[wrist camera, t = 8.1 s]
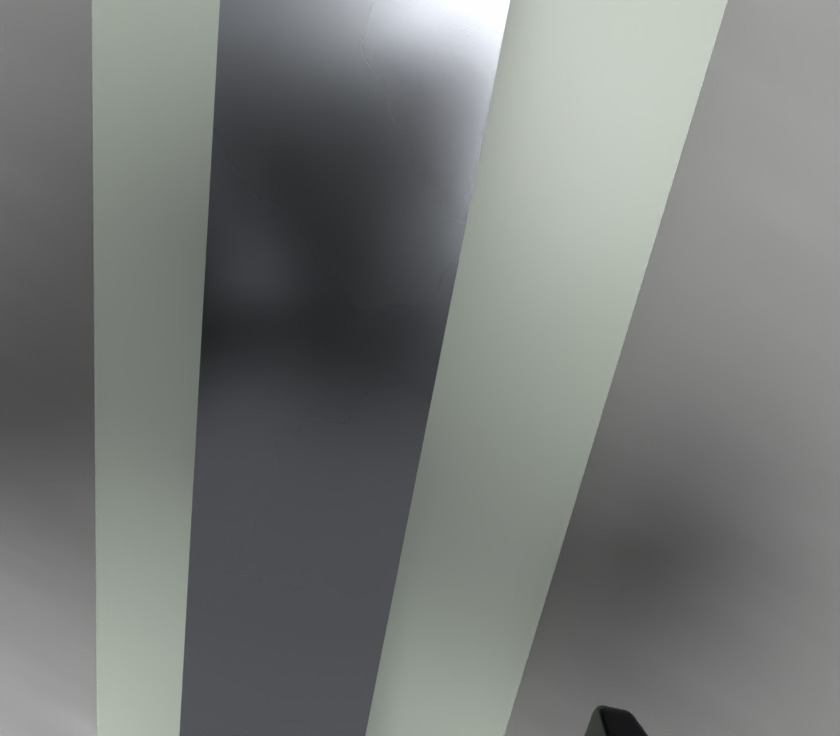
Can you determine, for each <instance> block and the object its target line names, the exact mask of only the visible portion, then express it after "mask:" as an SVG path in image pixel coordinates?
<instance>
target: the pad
mask: <svg viewBox="0 0 840 736" xmlns="http://www.w3.org/2000/svg"><path fill="white" fill-rule="evenodd" d="M727 2H728V0H511V1H510V6H509V11H508V16H507V21H506V26H505V31H504V36H503V41H502V47H501V52H500V57H499V62H498V67H497V72H496V77H495V82H494V87H493V92H492V97H491V102H490V107H489V112H488V117H487V123H486V128H485V133H484V138H483V143H482V148H481V153H480V158H479V163H478V168H477V173H476V178H475V183H474V188H473V193H472V199H471V204H470V209H469V214H468V219H467V224H466V229H465V234H464V239H463V244H462V249H461V254H460V259H459V264H458V269H457V275H456V280H455V285H454V290H453V295H452V300H451V305H450V310H449V315H448V320H447V325H446V330H445V335H444V340H443V346H442V351H441V356H440V361H439V366H438V371H437V376H436V381H435V386H434V391H433V396H432V401H431V406H430V411H429V416H428V422H427V427H426V432H425V437H424V442H423V447H422V452H421V457H420V462H419V467H418V472H417V477H416V482H415V487H414V492H413V498H412V503H411V508H410V513H409V518H408V523H407V528H406V533H405V538H404V543H403V548H402V553H401V558H400V563H399V569H398V574H397V579H396V584H395V589H394V594H393V599H392V604H391V609H390V614H389V619H388V624H387V629H386V634H385V639H384V645H383V650H382V655H381V660H380V665H379V670H378V675H377V680H376V685H375V690H374V695H373V700H372V705H371V710H370V715H369V721H368V726H367V731H366V736H504V735H505V732H506V728H507V725H508V722H509V718H510V715H511V712H512V709H513V705H514V702H515V699H516V695H517V692H518V689H519V686H520V682H521V679H522V676H523V672H524V669H525V666H526V663H527V659H528V656H529V653H530V649H531V646H532V643H533V639H534V636H535V633H536V630H537V626H538V623H539V620H540V616H541V613H542V610H543V607H544V603H545V600H546V597H547V593H548V590H549V587H550V584H551V580H552V577H553V574H554V570H555V567H556V564H557V561H558V557H559V554H560V551H561V547H562V544H563V541H564V538H565V534H566V531H567V528H568V524H569V521H570V518H571V515H572V511H573V508H574V505H575V501H576V498H577V495H578V492H579V488H580V485H581V482H582V478H583V475H584V472H585V468H586V465H587V462H588V459H589V455H590V452H591V449H592V445H593V442H594V439H595V436H596V432H597V429H598V426H599V422H600V419H601V416H602V413H603V409H604V406H605V403H606V399H607V396H608V393H609V390H610V386H611V383H612V380H613V376H614V373H615V370H616V367H617V363H618V360H619V357H620V353H621V350H622V347H623V344H624V340H625V337H626V334H627V330H628V327H629V324H630V321H631V317H632V314H633V311H634V307H635V304H636V301H637V297H638V294H639V291H640V288H641V284H642V281H643V278H644V274H645V271H646V268H647V265H648V261H649V258H650V255H651V251H652V248H653V245H654V242H655V238H656V235H657V232H658V228H659V225H660V222H661V219H662V215H663V212H664V209H665V205H666V202H667V199H668V196H669V192H670V189H671V186H672V182H673V179H674V176H675V173H676V169H677V166H678V163H679V159H680V156H681V153H682V150H683V146H684V143H685V140H686V136H687V133H688V130H689V126H690V123H691V120H692V117H693V113H694V110H695V107H696V103H697V100H698V97H699V94H700V90H701V87H702V84H703V80H704V77H705V74H706V71H707V67H708V64H709V61H710V57H711V54H712V51H713V48H714V44H715V41H716V38H717V34H718V31H719V28H720V25H721V21H722V18H723V15H724V11H725V8H726V5H727ZM219 9H220V0H92V110H93V254H94V397H95V541H96V684H97V736H179V733H180V715H181V697H182V679H183V661H184V643H185V625H186V607H187V588H188V570H189V552H190V534H191V516H192V498H193V480H194V462H195V444H196V426H197V407H198V389H199V371H200V353H201V335H202V317H203V299H204V281H205V263H206V244H207V226H208V208H209V190H210V172H211V154H212V136H213V118H214V100H215V81H216V63H217V45H218V27H219Z"/></svg>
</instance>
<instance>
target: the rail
mask: <svg viewBox="0 0 840 736" xmlns="http://www.w3.org/2000/svg"><path fill="white" fill-rule="evenodd" d="M510 1H511V0H220V9H219V27H218V45H217V63H216V81H215V100H214V118H213V136H212V154H211V172H210V190H209V208H208V226H207V244H206V263H205V281H204V299H203V317H202V335H201V353H200V371H199V389H198V407H197V426H196V444H195V462H194V480H193V498H192V516H191V534H190V552H189V570H188V588H187V607H186V625H185V643H184V661H183V679H182V697H181V715H180V733H179V736H366V731H367V726H368V721H369V715H370V710H371V705H372V700H373V695H374V690H375V685H376V680H377V675H378V670H379V665H380V660H381V655H382V650H383V645H384V639H385V634H386V629H387V624H388V619H389V614H390V609H391V604H392V599H393V594H394V589H395V584H396V579H397V574H398V569H399V563H400V558H401V553H402V548H403V543H404V538H405V533H406V528H407V523H408V518H409V513H410V508H411V503H412V498H413V492H414V487H415V482H416V477H417V472H418V467H419V462H420V457H421V452H422V447H423V442H424V437H425V432H426V427H427V422H428V416H429V411H430V406H431V401H432V396H433V391H434V386H435V381H436V376H437V371H438V366H439V361H440V356H441V351H442V346H443V340H444V335H445V330H446V325H447V320H448V315H449V310H450V305H451V300H452V295H453V290H454V285H455V280H456V275H457V269H458V264H459V259H460V254H461V249H462V244H463V239H464V234H465V229H466V224H467V219H468V214H469V209H470V204H471V199H472V193H473V188H474V183H475V178H476V173H477V168H478V163H479V158H480V153H481V148H482V143H483V138H484V133H485V128H486V123H487V117H488V112H489V107H490V102H491V97H492V92H493V87H494V82H495V77H496V72H497V67H498V62H499V57H500V52H501V47H502V41H503V36H504V31H505V26H506V21H507V16H508V11H509V6H510Z"/></svg>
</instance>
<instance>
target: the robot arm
mask: <svg viewBox="0 0 840 736" xmlns="http://www.w3.org/2000/svg"><path fill="white" fill-rule="evenodd" d="M585 736H648V735H647V734H646V732H645V731H644V730H643V728H642V727H641V725H640V724H639V723H638V721H637V720H636V718H635V717H634V716H633V715H632V714H631V713H630V712H628V711H626V710H622V709H617V708H613V707H608V706H603V705H602V706H598V707H597V708H596V709H595V710H594V712H593V714H592V717H591V720H590V722H589V725H588V728H587V731H586V733H585Z"/></svg>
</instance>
